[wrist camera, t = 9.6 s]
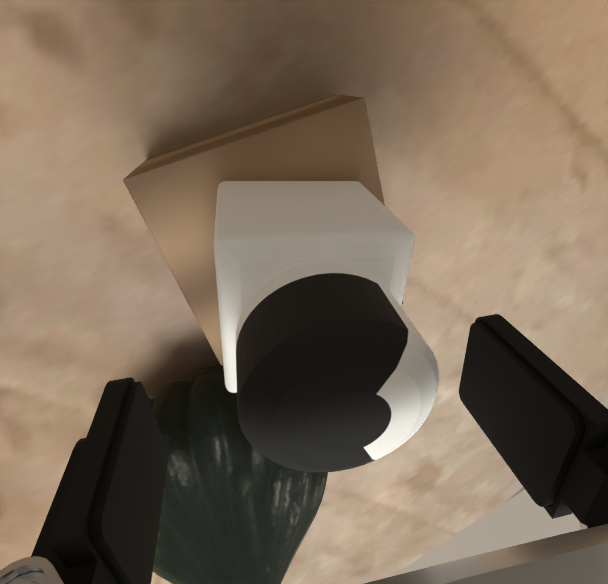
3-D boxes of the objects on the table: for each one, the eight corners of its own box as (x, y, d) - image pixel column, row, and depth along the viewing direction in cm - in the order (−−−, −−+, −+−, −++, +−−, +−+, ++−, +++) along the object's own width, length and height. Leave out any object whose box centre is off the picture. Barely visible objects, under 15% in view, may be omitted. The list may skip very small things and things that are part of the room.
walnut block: (147, 158, 23) (122, 180, 18) (334, 94, 23) (364, 97, 18) (223, 315, 29) (221, 365, 24) (373, 264, 29) (403, 303, 24)
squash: (75, 370, 23) (68, 693, 18) (321, 334, 25) (375, 609, 20) (142, 394, 36) (149, 583, 31) (299, 368, 38) (329, 541, 34)
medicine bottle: (225, 304, 22) (224, 514, 12) (217, 178, 18) (204, 327, 8) (346, 298, 23) (438, 484, 13) (361, 178, 20) (503, 309, 9)
